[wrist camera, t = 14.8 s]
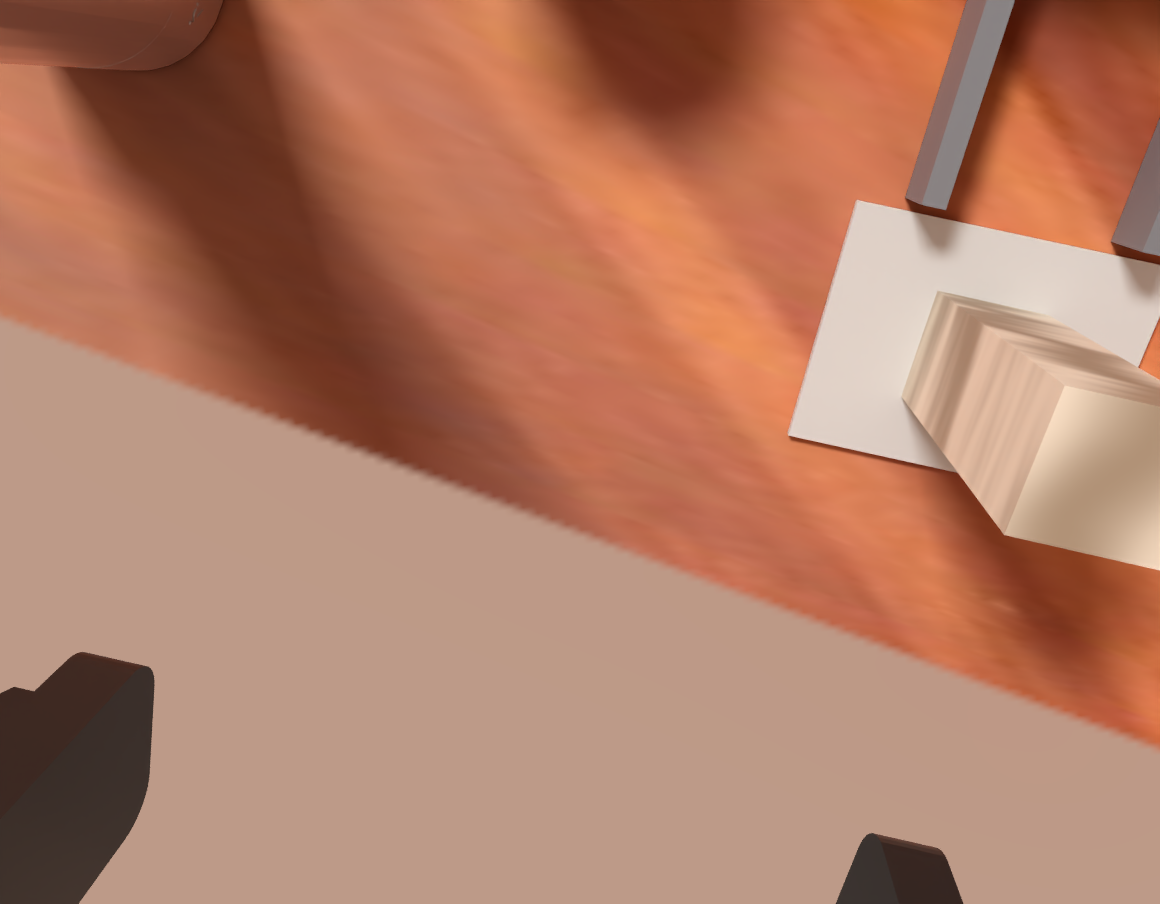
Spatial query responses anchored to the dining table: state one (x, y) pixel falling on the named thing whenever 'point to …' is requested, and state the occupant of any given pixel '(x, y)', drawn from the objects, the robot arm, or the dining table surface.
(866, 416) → the mat
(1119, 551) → the ash block
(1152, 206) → the lane rack
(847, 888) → the robot arm
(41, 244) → the dining table surface
